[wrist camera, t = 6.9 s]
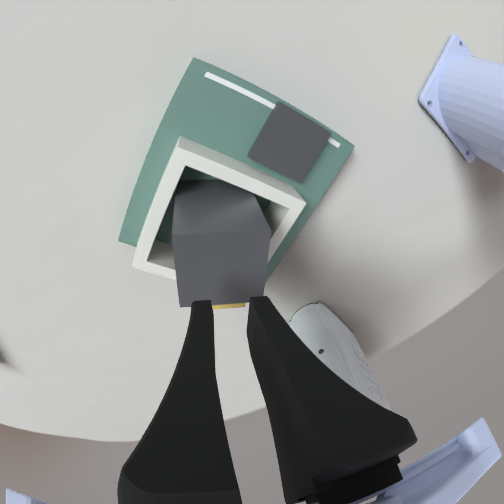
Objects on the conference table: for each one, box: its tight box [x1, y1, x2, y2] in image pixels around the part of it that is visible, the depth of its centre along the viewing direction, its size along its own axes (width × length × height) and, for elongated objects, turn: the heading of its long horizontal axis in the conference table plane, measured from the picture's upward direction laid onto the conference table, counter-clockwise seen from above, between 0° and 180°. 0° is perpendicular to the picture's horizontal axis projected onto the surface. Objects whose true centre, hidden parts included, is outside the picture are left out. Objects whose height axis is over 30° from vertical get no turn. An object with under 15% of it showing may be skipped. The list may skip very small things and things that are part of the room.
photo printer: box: [289, 303, 390, 410], centre depth 23 cm, size 10×4×12 cm, turn 39°
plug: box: [172, 179, 271, 309], centre depth 15 cm, size 4×4×6 cm
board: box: [118, 57, 354, 282], centre depth 16 cm, size 11×12×4 cm
